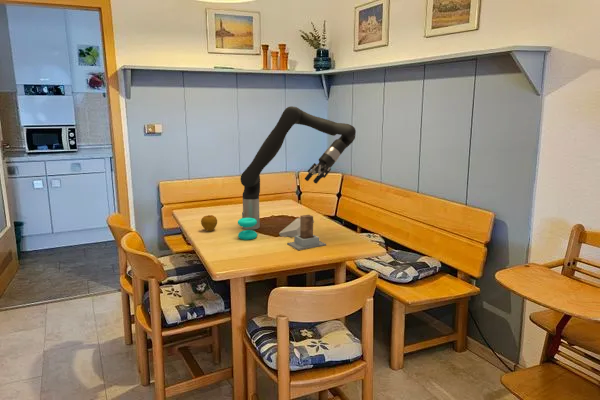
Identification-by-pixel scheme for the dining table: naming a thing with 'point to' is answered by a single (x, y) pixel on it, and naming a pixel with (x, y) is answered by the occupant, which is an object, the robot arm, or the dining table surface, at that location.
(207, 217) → the apple
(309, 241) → the grey open box
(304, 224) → the brown cylinder
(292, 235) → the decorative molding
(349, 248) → the dining table surface
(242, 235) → the donuts
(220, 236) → the dining table surface
